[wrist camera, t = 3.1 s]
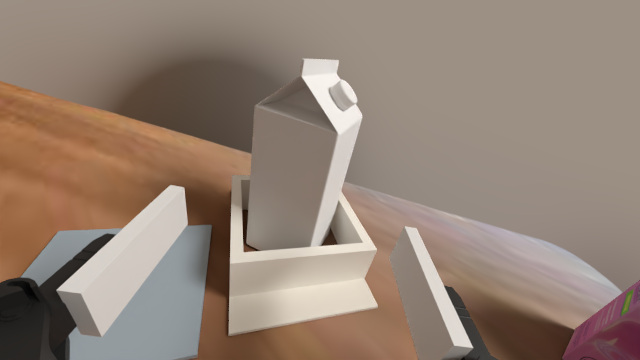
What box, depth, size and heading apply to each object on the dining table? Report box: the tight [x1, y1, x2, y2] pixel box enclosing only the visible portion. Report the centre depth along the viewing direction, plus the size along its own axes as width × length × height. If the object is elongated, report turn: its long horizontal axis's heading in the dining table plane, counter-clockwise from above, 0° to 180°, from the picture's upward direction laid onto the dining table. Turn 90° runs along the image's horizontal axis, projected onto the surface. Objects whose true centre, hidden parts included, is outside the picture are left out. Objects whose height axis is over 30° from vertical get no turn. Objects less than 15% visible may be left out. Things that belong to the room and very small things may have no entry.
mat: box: [21, 225, 212, 360], centre depth 20 cm, size 13×13×1 cm
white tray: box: [229, 175, 378, 336], centre depth 27 cm, size 19×13×4 cm
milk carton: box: [246, 59, 362, 251], centre depth 23 cm, size 7×7×19 cm
